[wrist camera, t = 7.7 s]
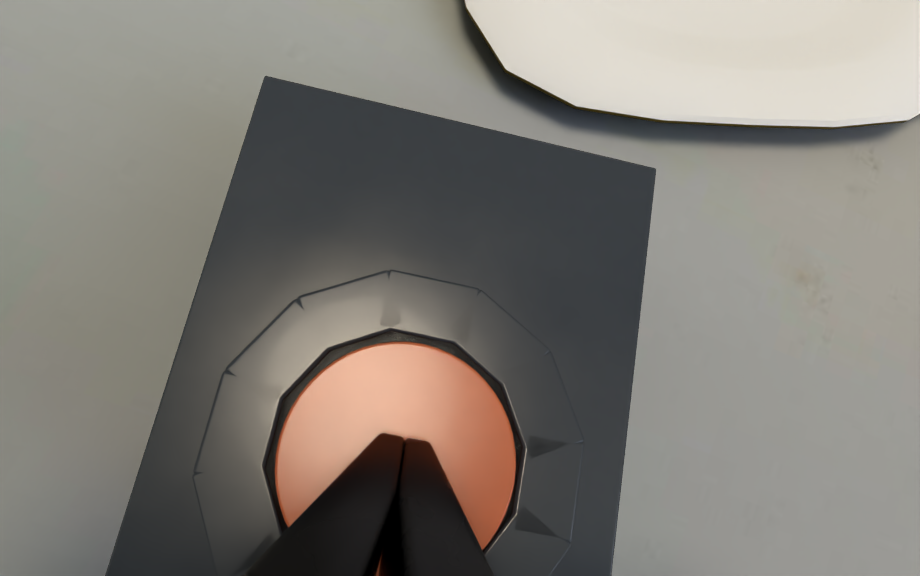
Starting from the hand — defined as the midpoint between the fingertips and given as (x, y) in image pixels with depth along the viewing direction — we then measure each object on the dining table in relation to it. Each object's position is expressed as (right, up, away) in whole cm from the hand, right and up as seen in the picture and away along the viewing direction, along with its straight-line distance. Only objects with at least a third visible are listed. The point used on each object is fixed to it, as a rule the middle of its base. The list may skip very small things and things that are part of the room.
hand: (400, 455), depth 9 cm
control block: (-1, 0, +9) cm, 9 cm away
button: (0, -1, +2) cm, 2 cm away
